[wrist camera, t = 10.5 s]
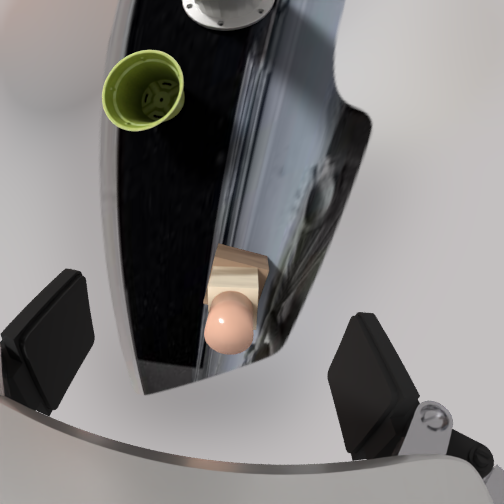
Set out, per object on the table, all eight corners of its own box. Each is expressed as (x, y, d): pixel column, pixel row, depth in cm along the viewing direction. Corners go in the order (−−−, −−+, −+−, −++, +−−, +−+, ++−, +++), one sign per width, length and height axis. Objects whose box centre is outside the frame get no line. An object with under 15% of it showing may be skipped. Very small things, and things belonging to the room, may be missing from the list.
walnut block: (218, 243, 41) (214, 256, 36) (267, 255, 42) (269, 270, 37) (207, 286, 43) (203, 303, 39) (253, 297, 44) (253, 315, 39)
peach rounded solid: (214, 286, 32) (208, 311, 27) (257, 295, 32) (258, 321, 27) (207, 322, 33) (201, 349, 29) (247, 330, 34) (247, 358, 29)
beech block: (213, 266, 37) (207, 286, 32) (257, 267, 37) (258, 288, 32) (214, 304, 39) (209, 327, 33) (255, 305, 39) (256, 329, 34)
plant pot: (139, 65, 32) (113, 49, 23) (205, 71, 32) (192, 52, 24) (124, 129, 35) (94, 127, 27) (188, 138, 36) (171, 136, 27)
